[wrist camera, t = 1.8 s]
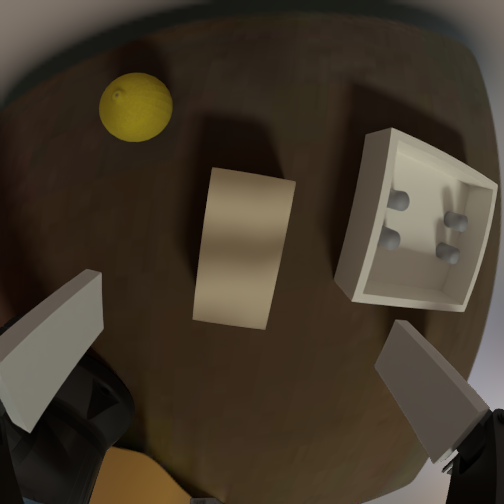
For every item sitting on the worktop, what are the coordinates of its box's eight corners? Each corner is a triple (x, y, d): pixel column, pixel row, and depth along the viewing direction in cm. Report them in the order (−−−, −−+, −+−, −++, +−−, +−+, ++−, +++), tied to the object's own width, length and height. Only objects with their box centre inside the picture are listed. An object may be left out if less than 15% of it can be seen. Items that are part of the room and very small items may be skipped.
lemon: (157, 157, 22) (121, 150, 15) (114, 128, 21) (69, 114, 14) (193, 107, 21) (173, 77, 14) (148, 80, 20) (114, 48, 13)
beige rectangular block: (260, 303, 27) (265, 329, 22) (200, 294, 26) (192, 319, 22) (284, 180, 24) (295, 181, 19) (217, 169, 23) (212, 167, 19)
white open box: (333, 279, 26) (351, 301, 22) (365, 134, 23) (391, 127, 18) (440, 294, 28) (463, 312, 23) (469, 181, 24) (497, 184, 19)
